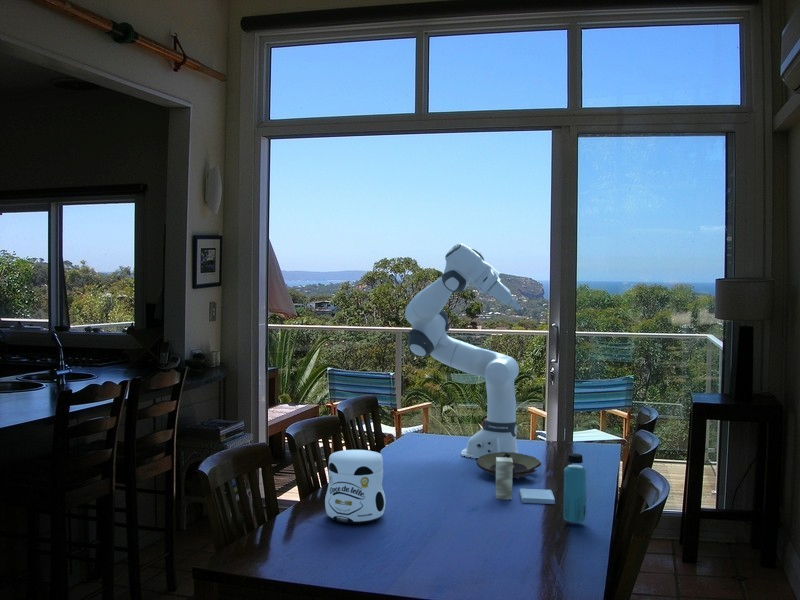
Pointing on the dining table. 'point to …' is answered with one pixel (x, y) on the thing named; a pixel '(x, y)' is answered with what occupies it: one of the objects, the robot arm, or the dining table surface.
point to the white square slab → (537, 496)
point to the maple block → (504, 478)
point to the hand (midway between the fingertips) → (518, 306)
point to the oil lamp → (520, 463)
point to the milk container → (355, 486)
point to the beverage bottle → (575, 490)
